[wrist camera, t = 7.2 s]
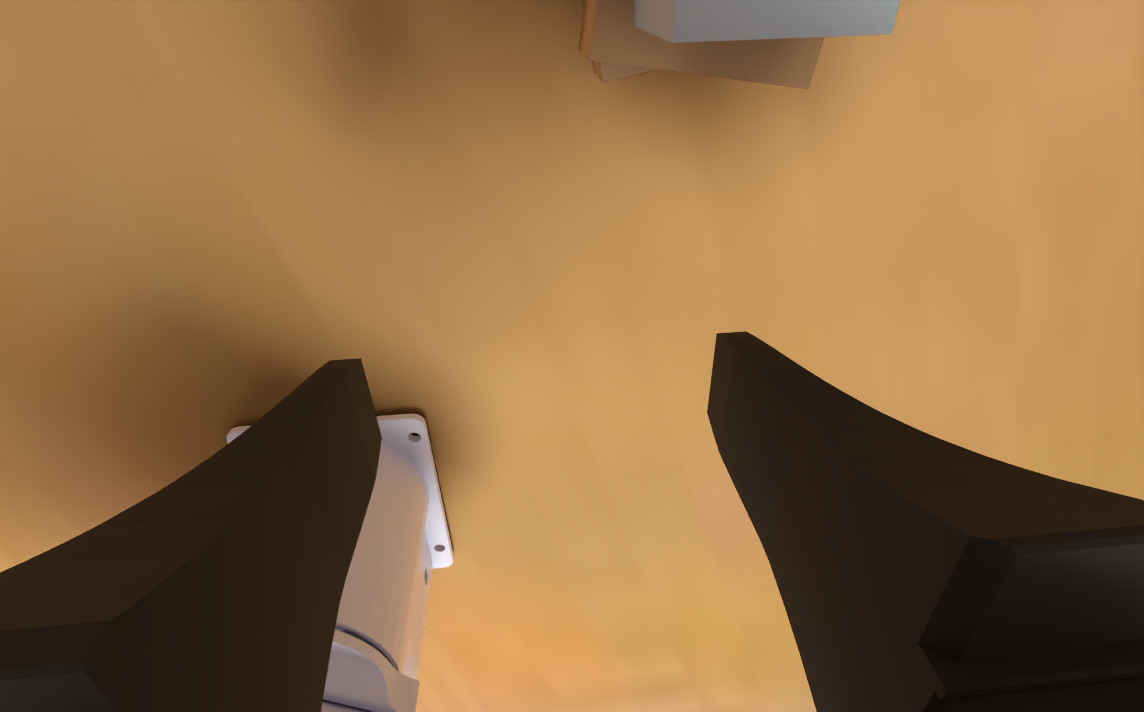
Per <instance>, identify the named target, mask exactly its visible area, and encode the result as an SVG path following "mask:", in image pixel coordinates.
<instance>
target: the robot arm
mask: <svg viewBox="0 0 1144 712" xmlns="http://www.w3.org/2000/svg"><path fill="white" fill-rule="evenodd" d="M707 413H708V417H709V420H710V424H711V427H712V430H713V434H714V437H715V440H716V443H717V446H718V450H719V453H720V455H721V457H722V459H723V462H724V464H725V466H726V468H727V470H728V473H729V475H730V477H731V479H732V481H733V483H734V486H735V488H736V490H737V492H738V494H739V496H740V498H741V500H742V502H743V505H744V507H745V509H746V511H747V513H748V515H749V517H750V519H751V521H752V524H753V526H754V528H755V530H756V532H757V534H758V536H759V538H760V541H761V543H762V545H763V548H764V550H765V552H766V555H767V557H768V560H769V562H770V565H771V568H772V571H773V574H774V577H775V580H776V582H777V585H778V588H779V591H780V594H781V597H782V600H783V603H784V606H785V609H786V612H787V615H788V618H789V621H790V624H791V628H792V631H793V634H794V637H795V640H796V643H797V646H798V649H799V653H800V656H801V659H802V663H803V666H804V669H805V673H806V676H807V680H808V683H809V687H810V690H811V693H812V697H813V700H814V704H815V707H816V710H817V712H1144V501H1143V500H1141V499H1137V498H1133V497H1129V496H1125V495H1121V494H1117V493H1113V492H1109V491H1105V490H1101V489H1097V488H1093V487H1089V486H1085V485H1081V484H1077V483H1073V482H1069V481H1065V480H1061V479H1057V478H1054V477H1050V476H1047V475H1044V474H1040V473H1037V472H1034V471H1030V470H1027V469H1024V468H1021V467H1017V466H1014V465H1011V464H1008V463H1005V462H1002V461H999V460H996V459H993V458H990V457H987V456H984V455H981V454H978V453H976V452H973V451H970V450H968V449H965V448H962V447H960V446H957V445H955V444H952V443H949V442H947V441H944V440H941V439H939V438H937V437H934V436H932V435H929V434H927V433H925V432H922V431H920V430H918V429H915V428H913V427H911V426H909V425H907V424H905V423H903V422H900V421H898V420H896V419H894V418H892V417H890V416H887V415H885V414H883V413H881V412H879V411H877V410H875V409H873V408H871V407H870V406H868V405H866V404H864V403H862V402H860V401H859V400H857V399H855V398H853V397H851V396H850V395H848V394H846V393H844V392H842V391H841V390H839V389H837V388H836V387H834V386H832V385H831V384H829V383H827V382H825V381H824V380H822V379H821V378H819V377H817V376H816V375H814V374H813V373H811V372H809V371H808V370H806V369H805V368H803V367H802V366H800V365H798V364H797V363H795V362H794V361H792V360H791V359H789V358H788V357H786V356H785V355H783V354H782V353H780V352H779V351H777V350H775V349H774V348H772V347H771V346H769V345H768V344H766V343H765V342H763V341H762V340H760V339H758V338H757V337H755V336H753V335H752V334H750V333H748V332H731V333H717V336H716V344H715V353H714V361H713V369H712V377H711V386H710V394H709V402H708V411H707ZM410 433H418V434H420V435H419V436H413V435H411V434H410ZM226 439H227V443H228V444H227V445H226V446H225V447H223V448H222V449H221V450H220V451H218V452H217V453H215V454H214V455H213V456H211V457H210V458H209V459H207V460H206V461H204V462H203V463H201V464H200V465H198V466H197V467H196V468H194V469H193V470H191V471H190V472H188V473H186V474H185V475H183V476H182V477H180V478H179V479H177V480H176V481H174V482H173V483H171V484H169V485H168V486H166V487H165V488H163V489H161V490H160V491H158V492H157V493H155V494H153V495H151V496H150V497H148V498H146V499H144V500H143V501H141V502H139V503H137V504H136V505H134V506H132V507H130V508H128V509H127V510H125V511H123V512H121V513H120V514H118V515H116V516H114V517H113V518H111V519H109V520H107V521H106V522H104V523H102V524H100V525H98V526H96V527H94V528H93V529H91V530H89V531H87V532H85V533H83V534H81V535H79V536H77V537H75V538H73V539H71V540H69V541H67V542H65V543H63V544H61V545H59V546H57V547H55V548H52V549H50V550H48V551H46V552H44V553H42V554H40V555H38V556H36V557H33V558H31V559H29V560H27V561H25V562H23V563H21V564H18V565H16V566H14V567H12V568H9V569H7V570H5V571H3V572H0V712H415V711H416V704H417V696H418V688H419V681H418V680H417V677H418V671H419V664H420V657H421V649H422V642H423V634H424V627H425V619H426V612H427V604H428V597H429V590H430V582H431V575H432V569H433V568H444V567H448V566H450V565H451V564H452V563H453V550H452V545H451V541H450V536H449V531H448V526H447V521H446V517H445V512H444V507H443V502H442V498H441V493H440V488H439V483H438V478H437V474H436V469H435V464H434V459H433V455H432V450H431V445H430V440H429V435H428V431H427V426H426V422H425V419H424V418H423V417H422V416H420V415H418V414H399V415H386V416H376V413H375V410H374V406H373V402H372V398H371V395H370V391H369V387H368V383H367V379H366V376H365V372H364V368H363V364H362V361H361V358H360V359H345V360H331V361H329V362H327V363H326V364H325V365H323V366H322V367H321V368H319V369H318V370H317V371H316V372H315V373H313V374H312V375H311V376H310V377H309V378H308V379H306V380H305V381H304V382H303V383H302V384H301V385H299V386H298V387H297V388H296V389H295V390H294V391H293V392H291V393H290V394H289V395H288V396H287V397H286V398H284V399H283V400H282V401H281V402H280V403H278V404H277V405H276V406H275V407H274V408H273V409H271V410H270V411H269V412H268V413H267V414H266V415H264V416H263V417H262V418H261V419H260V420H258V421H257V422H256V423H254V424H253V425H252V426H238V427H234V428H233V429H231V430H230V432H229V433H228V435H227V437H226Z"/></svg>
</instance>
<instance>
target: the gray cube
mask: <svg viewBox="0 0 1144 712" xmlns="http://www.w3.org/2000/svg"><path fill="white" fill-rule="evenodd" d="M899 2H900V0H635V4H634V27H637V28H639V29H641V30H644V31H646V32H648V33H651V34H653V35H655V36H658V37H660V38H662V39H665V40H667V41H669V42H672V43H681V42H706V41H732V40H757V39H782V38H808V37H833V36H858V35H884V34H892V32H893V27H894V23H895V19H896V14H897V10H898V6H899Z"/></svg>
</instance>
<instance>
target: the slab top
mask: <svg viewBox="0 0 1144 712" xmlns="http://www.w3.org/2000/svg"><path fill="white" fill-rule="evenodd" d="M634 4H635V0H585V2H584V10H583V19H582V27H581V36H580V44H579V50H580V51H581V52H582V53H583V54H584V55H585V56H586V57H587V58H588V60H593V61H600V62H608V63H615V64H623V65H630V66H638V67H645V68H653V69H660V70H668V71H675V72H683V73H690V74H698V75H705V76H713V77H720V78H728V79H735V80H743V81H750V82H758V83H765V84H773V85H780V86H788V87H795V88H803V89H808V88H809V84H810V81H811V78H812V75H813V72H814V69H815V65H816V62H817V59H818V56H819V53H820V49H821V46H822V43H823V40H824V37H808V38H782V39H757V40H732V41H706V42H681V43H672V42H669V41H667V40H665V39H662V38H660V37H658V36H655V35H653V34H651V33H648V32H646V31H644V30H641V29H639V28H637V27H634Z"/></svg>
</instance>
